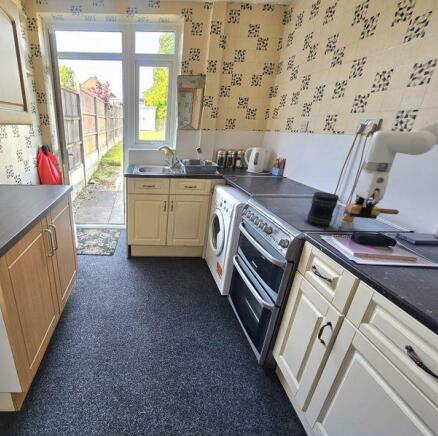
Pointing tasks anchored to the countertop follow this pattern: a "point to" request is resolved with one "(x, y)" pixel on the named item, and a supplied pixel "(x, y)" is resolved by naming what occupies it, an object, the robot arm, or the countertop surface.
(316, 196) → the storage jar
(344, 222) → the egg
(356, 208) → the brush
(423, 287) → the countertop surface
